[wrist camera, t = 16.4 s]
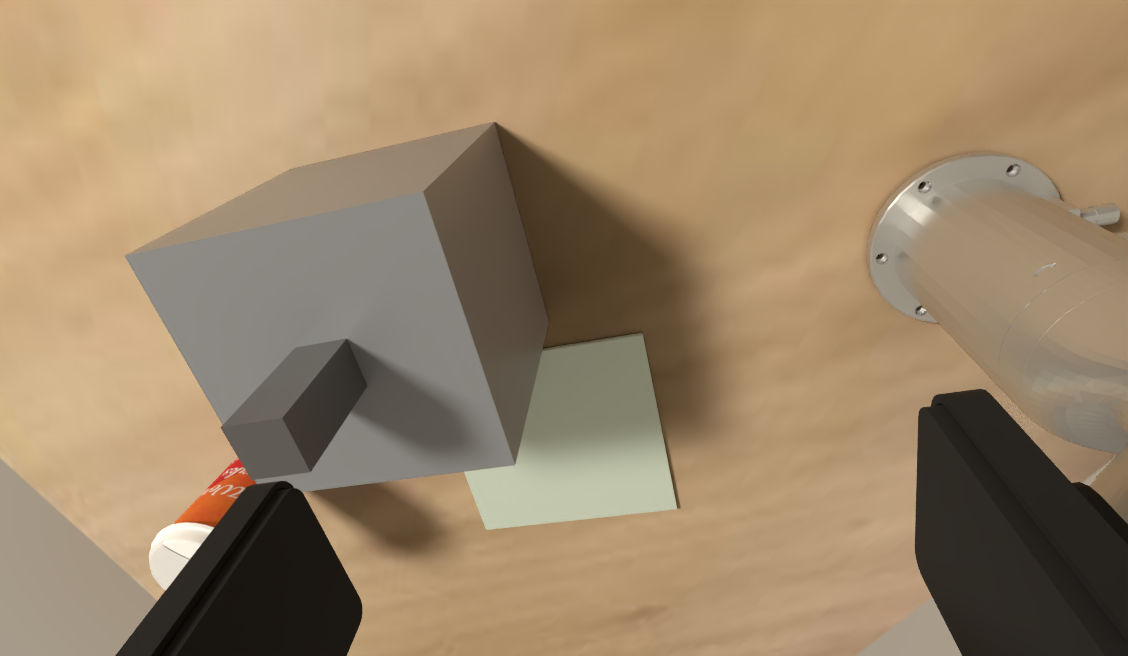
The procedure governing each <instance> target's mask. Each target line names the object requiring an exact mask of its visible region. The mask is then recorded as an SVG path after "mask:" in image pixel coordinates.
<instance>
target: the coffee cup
mask: <svg viewBox="0 0 1128 656" xmlns="http://www.w3.org/2000/svg"><path fill="white" fill-rule="evenodd" d="M253 484H257V483H256V481H255V480H251V478H250V477H249V475H248V473H247V472H246V470H245V468H244V466H243V465H242V463H241V461H240V460H239V458H238V457H237V458H236V459H235V460H234V461H233V462H232V463H231V465H230V466H229V467H228V468H227V469H226V470H225V471H224V472H223V473H222V474H221V475H220V476H219V477H218V478H217V479H216V480H215V481H214V482H213V483H212V484H211V485H210V486H209V487H208V488H207V489H206V490H205V492H204V493H203V494H202V495H201V496H200V497H199V498H198V499H197V500H196V501H195V502H194V503H193V504H192V505H191V506H190V507H189V508H188V509H187V510H186V511H185V512H184V513H183V514H182V515H181V517H180V518H179V519H178V520H177V521H176V522H175V523H174V524H172V525H170V526H167V527H165V528H164V529H162V530H161V531H160V532H159V533H158V534H157V536H156V538H155V539H154V541H153V542H152V544H151V550H150V552H149V561H150V569H151V572H152V575H153V577H154V578H155V580H156V581H157V582H158V583H159V584H160V586H161V587H162V588H163V589H164V590H165V591H166V590H167V588H168V587H169V586H170V584H171V583H172V582H173V580H174V579H175V578H176V577H177V575H178V574H179V573H180V571H181V570H182V569H183V568H184V566H185V565H186V564H187V562H188V561H189V560H190V558H191V557H192V556H193V555H194V553H195V552H196V551H197V549H198V548H199V547H200V546H201V544H202V543H203V542H204V540H205V539H206V538H207V536H208V535H209V534H210V533H211V531H212V530H213V529H214V527H215V526H216V525H217V524H218V522H219V521H220V520H221V518H222V517H223V516H224V514H225V513H226V512H227V511H228V509H229V508H230V507H231V505H232V504H233V503H234V502H235V500H236V499H237V498H238V496H239V495H240V494H241V492H242V491H243V490H244V489H245V488H246V487H248V486H250V485H253Z"/></svg>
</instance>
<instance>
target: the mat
mask: <svg viewBox="0 0 1128 656" xmlns="http://www.w3.org/2000/svg"><path fill="white" fill-rule="evenodd" d="M464 473H465V476H466V479H467V481H468V484H469V486H470V489H471V492H472V494H473V497H474V499H475V502H476V504H477V507H478V510H479V512H480V515H481V517H482V520H483V523H484V525H485V528H486V530H489V529H498V528H508V527H517V526H526V525H535V524H545V523H554V522H563V521H572V520H582V519H591V518H600V517H609V516H619V515H628V514H637V513H646V512H656V511H665V510H674V509H677V504H676V499H675V494H674V489H673V484H672V479H671V474H670V469H669V464H668V459H667V454H666V449H665V444H664V438H663V433H662V428H661V423H660V418H659V413H658V408H657V403H656V398H655V393H654V388H653V383H652V378H651V373H650V368H649V363H648V358H647V353H646V348H645V343H644V338H643V333H638V334H631V335H625V336H619V337H613V338H606V339H600V340H594V341H588V342H581V343H575V344H569V345H563V346H557V347H550V348H544V349H543V350H542V354H541V358H540V362H539V367H538V371H537V375H536V379H535V383H534V388H533V392H532V396H531V400H530V405H529V409H528V413H527V417H526V422H525V426H524V430H523V434H522V439H521V443H520V447H519V451H518V456H517V460H516V464H515V465H513V466H505V467H497V468H489V469H482V470H474V471H466V472H464Z"/></svg>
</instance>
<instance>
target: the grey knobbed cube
mask: <svg viewBox="0 0 1128 656" xmlns="http://www.w3.org/2000/svg"><path fill="white" fill-rule="evenodd" d="M125 257H126V259H127V261H128V263H129V264H130V266H131V268H132V269H133V271H134V273H135V275H136V276H137V278H138V280H139V282H140V283H141V285H142V287H143V288H144V290H145V292H146V294H147V295H148V297H149V299H150V300H151V302H152V304H153V306H154V307H155V309H156V311H157V313H158V314H159V316H160V318H161V319H162V321H163V323H164V325H165V326H166V328H167V330H168V331H169V333H170V335H171V337H172V338H173V340H174V342H175V344H176V345H177V347H178V349H179V350H180V352H181V354H182V356H183V357H184V359H185V361H186V363H187V364H188V366H189V368H190V369H191V371H192V373H193V375H194V376H195V378H196V380H197V381H198V383H199V385H200V387H201V388H202V390H203V392H204V394H205V395H206V397H207V399H208V400H209V402H210V404H211V406H212V407H213V409H214V411H215V412H216V414H217V416H218V418H219V419H220V421H221V423H222V426H221V429H222V430H223V432H224V434H225V436H226V437H227V439H228V441H229V442H230V444H231V446H232V448H233V449H234V451H235V453H236V454H237V456H238V458H239V460H240V461H241V463H242V465H243V466H244V468H245V470H246V472H247V473H248V475H249V477H250V478H251V480H255V481H256V483H257V484H261V483H268V482H276V481H287V482H289V483H290V484H292V486H293V487H294V488H296V489H299V490H300V491H301V492H308V491H315V490H323V489H331V488H339V487H347V486H355V485H363V484H371V483H379V482H387V481H395V480H402V479H410V478H418V477H426V476H434V475H442V474H450V473H458V472H466V471H474V470H482V469H489V468H497V467H505V466H513V465H515V464H516V460H517V456H518V451H519V447H520V443H521V439H522V434H523V430H524V426H525V422H526V417H527V413H528V409H529V405H530V400H531V396H532V392H533V388H534V383H535V379H536V375H537V371H538V367H539V362H540V358H541V354H542V350H543V345H544V341H545V337H546V333H547V328H548V324H549V320H548V317H547V313H546V309H545V306H544V302H543V298H542V294H541V291H540V287H539V283H538V280H537V276H536V272H535V269H534V265H533V261H532V258H531V254H530V250H529V246H528V243H527V239H526V235H525V232H524V228H523V224H522V221H521V217H520V213H519V210H518V206H517V202H516V199H515V195H514V191H513V187H512V184H511V180H510V176H509V173H508V169H507V165H506V162H505V158H504V154H503V151H502V147H501V143H500V139H499V136H498V132H497V128H496V125H495V122H492V123H488V124H484V125H479V126H475V127H471V128H466V129H462V130H458V131H453V132H449V133H445V134H440V135H436V136H432V137H428V138H423V139H419V140H415V141H410V142H406V143H402V144H397V145H393V146H389V147H384V148H380V149H376V150H371V151H367V152H363V153H358V154H354V155H350V156H346V157H341V158H337V159H333V160H328V161H324V162H320V163H315V164H311V165H307V166H302V167H298V168H294V169H290V170H288V171H286V172H284V173H282V174H280V175H279V176H277V177H275V178H273V179H271V180H269V181H267V182H265V183H263V184H261V185H259V186H257V187H256V188H254V189H252V190H250V191H248V192H246V193H244V194H242V195H240V196H238V197H236V198H234V199H232V200H231V201H229V202H227V203H225V204H223V205H221V206H219V207H217V208H215V209H213V210H211V211H209V212H208V213H206V214H204V215H202V216H200V217H198V218H196V219H194V220H192V221H190V222H188V223H186V224H185V225H183V226H181V227H179V228H177V229H175V230H173V231H171V232H169V233H167V234H165V235H163V236H161V237H160V238H158V239H156V240H154V241H152V242H150V243H148V244H146V245H144V246H142V247H140V248H138V249H137V250H135V251H133V252H131V253H129V254H127V255H125Z"/></svg>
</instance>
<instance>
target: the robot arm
mask: <svg viewBox="0 0 1128 656" xmlns="http://www.w3.org/2000/svg"><path fill="white" fill-rule="evenodd" d="M1009 167H1010V168H1009ZM1008 168H1009V169H1008ZM1007 169H1008V170H1007ZM921 182H923V184H922V186H920V187H918V186H919V184H920V183H921ZM1119 217H1120V210H1119V208H1118V206H1117V205H1116V204H1115V203H1107V204H1102V205H1096V206H1090V207H1088V208H1084V209H1079V208H1077V207H1075V206H1073V205H1070V204H1068V203H1066V202H1064V201H1062V200H1061V198H1060V195H1059V192H1058V190H1057V189H1056V187H1055V185H1054V184H1053V182H1052V181H1051V179H1050V178H1049V177H1048V176H1047V175H1046V174H1045V173H1044V172H1042V171H1041V170H1040V169H1039V168H1038V167H1036V166H1034V165H1032V164H1030V163H1028V162H1027V161H1025V160H1022V159H1020V158H1017V157H1014V156H1012V155H1008V154H1003V153H997V152H971V153H965V154H960V155H955V156H952V157H949V158H946V159H944V160H941V161H938V162H936V163H934V164H932V165H930V166H928V167H926V168H925V169H923V170H921V171H919V172H917V173H916V174H915V175H913V176H912V177H911V178H910V179H908V180H907V181H906V182H904V183H903V184H902V185H901V186H900V187H899V188H898V189H897V190H896V191H895V192H894V193H893V194H892V195H891V196H890V197H889V198H888V200H887V201H886V203H885V204H884V206H883V207H882V208H881V210H880V211H879V213H878V215H877V217H876V219H875V221H874V223H873V226H872V228H871V231H870V235H869V239H868V243H867V256H866V261H867V266H868V271H869V275H870V277H871V280H872V282H873V284H874V286H875V288H876V289H877V290H878V292H879V293H880V294H881V296H882V297H883V298H884V299H885V300H886V301H887V302H888V303H889V304H890V305H891V306H892V307H893V308H895V309H896V310H898V311H899V312H901V313H902V314H904V315H906V316H909V317H911V318H914V319H917V320H921V321H926V322H932V323H939V325H940V326H941V327H942V328H943V329H944V330H945V331H946V332H947V333H948V334H949V335H950V336H951V337H952V338H953V339H954V340H955V341H956V342H957V344H958V345H959V346H960V347H961V348H962V349H963V350H964V351H965V352H966V353H967V354H968V355H969V356H970V357H971V358H972V359H973V360H974V361H975V362H976V364H977V365H978V366H979V367H980V368H981V369H982V370H983V371H984V372H985V373H986V374H987V375H988V376H989V377H990V378H991V379H992V380H993V381H994V383H995V384H996V385H997V386H998V387H999V388H1000V389H1001V390H1002V391H1003V392H1004V393H1005V394H1006V395H1007V396H1008V397H1009V398H1010V399H1011V400H1012V402H1013V403H1014V404H1016V406H1017V407H1018V408H1019V409H1020V410H1021V411H1022V412H1023V413H1024V414H1025V415H1026V416H1027V417H1029V418H1030V419H1031V420H1032V421H1033V422H1034V423H1036V424H1037V425H1038V426H1040V427H1041V428H1043V429H1045V430H1046V431H1048V432H1049V433H1051V434H1053V435H1055V436H1057V437H1059V438H1062V439H1064V440H1067V441H1069V442H1072V443H1074V444H1077V445H1080V446H1083V447H1087V448H1092V449H1096V450H1100V451H1105V452H1111V453H1117V454H1118V455H1117V456H1116V457H1115V458H1114V459H1113V460H1112V461H1111V462H1110V463H1109V465H1108V466H1107V467H1106V468H1105V469H1104V470H1103V471H1102V472H1101V473H1100V474H1099V475H1098V476H1097V477H1096V480H1095V481H1094V482H1093V483H1092V484H1091V485H1090V486H1088V485H1085V484H1083V483H1080V482H1076V483H1071V482H1070V481H1069V480H1068V479H1067V478H1066V477H1065V475H1064V474H1063V473H1062V472H1061V471H1060V470H1059V469H1058V468H1057V467H1056V466H1055V464H1054V463H1053V462H1052V461H1051V460H1050V459H1049V458H1048V457H1047V456H1046V455H1045V453H1044V452H1043V451H1042V450H1041V449H1040V448H1039V447H1038V446H1037V445H1036V444H1035V443H1034V441H1033V440H1032V439H1031V438H1030V437H1029V436H1028V435H1027V434H1026V433H1025V432H1024V430H1023V429H1022V428H1021V427H1020V426H1019V425H1018V424H1017V423H1016V422H1015V421H1014V419H1013V418H1012V417H1011V416H1010V415H1009V414H1008V413H1007V412H1006V411H1005V410H1004V408H1003V407H1002V406H1001V405H1000V404H999V403H998V402H997V401H996V400H995V399H994V397H993V396H992V395H991V394H990V393H988V392H987V391H986V390H983V389H976V390H969V391H961V392H954V393H946V394H938V395H936V396H934V398H933V400H932V404H931V407H923V408H921V409H920V411H919V416H918V451H917V489H916V526H915V554H916V560H917V564H918V567H919V570H920V573H921V575H922V577H923V579H924V581H925V583H926V585H927V587H928V589H929V591H930V593H931V595H932V597H933V599H934V601H935V603H936V604H937V607H938V609H939V611H940V613H941V615H942V617H943V619H944V621H945V623H946V625H947V627H948V628H949V631H950V632H951V634H952V636H953V638H954V640H955V642H956V644H957V646H958V648H959V650H960V652H961V654H962V656H1128V232H1126V231H1123V232H1117V233H1112V232H1110V231H1108V230H1106V229H1104V228H1102V227H1100V226H1103V225H1109V224H1115V223H1116V222H1117V221H1118V220H1119ZM879 254H881V255H880V256H879V257H877V256H878V255H879ZM918 306H919V307H918ZM361 618H362V603H361V600H360V597H359V595H358V594H357V592H356V590H355V588H354V586H353V584H352V582H351V581H350V579H349V577H348V575H347V573H346V571H345V570H344V568H343V566H342V564H341V562H340V560H339V559H338V557H337V555H336V553H335V551H334V549H333V548H332V546H331V544H330V542H329V540H328V538H327V536H326V535H325V533H324V531H323V529H322V527H321V525H320V524H319V522H318V520H317V518H316V516H315V514H314V513H313V511H312V509H311V507H310V505H309V503H308V501H307V500H306V498H305V496H304V494H303V493H302V492H301V491H300V490H299V489H296V488H294V487H293V486H292V484H290V483H289V482H287V481H276V482H268V483H261V484H253V485H250V486H248V487H246V488H245V489H244V490H243V491H242V492H241V494H240V495H239V496H238V498H237V499H236V500H235V502H234V503H233V504H232V505H231V507H230V508H229V509H228V511H227V512H226V513H225V514H224V516H223V517H222V518H221V520H220V521H219V522H218V524H217V525H216V526H215V527H214V529H213V530H212V531H211V533H210V534H209V535H208V536H207V538H206V539H205V540H204V542H203V543H202V544H201V546H200V547H199V548H198V549H197V551H196V552H195V553H194V555H193V556H192V557H191V558H190V560H189V561H188V562H187V564H186V565H185V566H184V568H183V569H182V570H181V571H180V573H179V574H178V575H177V577H176V578H175V579H174V580H173V582H172V583H171V584H170V586H169V587H168V588H167V590H166V591H165V592H164V593H163V595H162V596H161V597H160V599H159V600H158V601H157V602H156V604H155V605H154V606H153V608H152V609H151V610H150V612H149V613H148V614H147V615H146V617H145V618H144V619H143V621H142V622H141V623H140V625H139V626H138V627H137V628H136V630H135V631H134V633H133V634H132V635H131V636H130V637H129V639H128V640H127V641H126V643H125V644H124V645H123V647H122V648H121V649H120V651H119V652H118V653H117V654H116V656H347V653H348V651H349V649H350V646H351V644H352V642H353V639H354V637H355V634H356V632H357V630H358V627H359V625H360V622H361Z"/></svg>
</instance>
